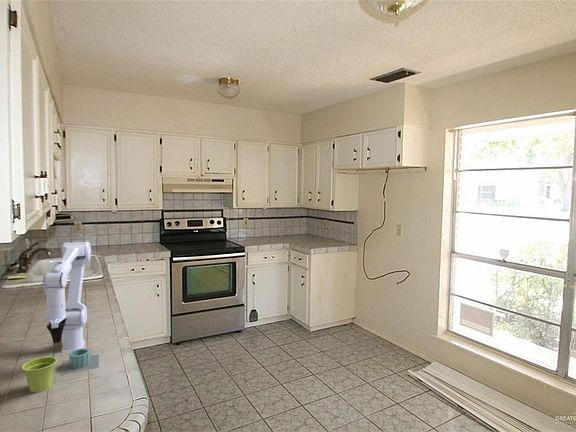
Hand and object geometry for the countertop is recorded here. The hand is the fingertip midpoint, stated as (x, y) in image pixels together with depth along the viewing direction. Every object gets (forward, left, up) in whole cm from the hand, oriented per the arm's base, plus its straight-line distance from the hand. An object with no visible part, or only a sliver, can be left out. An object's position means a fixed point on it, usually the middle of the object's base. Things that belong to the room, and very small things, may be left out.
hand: (57, 340), depth 135 cm
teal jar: (+4, +7, -9) cm, 12 cm away
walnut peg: (0, 0, -2) cm, 2 cm away
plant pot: (+16, -4, -10) cm, 19 cm away
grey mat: (+4, +7, -9) cm, 12 cm away
